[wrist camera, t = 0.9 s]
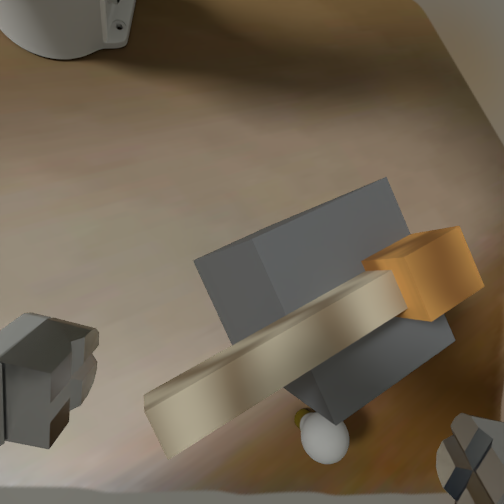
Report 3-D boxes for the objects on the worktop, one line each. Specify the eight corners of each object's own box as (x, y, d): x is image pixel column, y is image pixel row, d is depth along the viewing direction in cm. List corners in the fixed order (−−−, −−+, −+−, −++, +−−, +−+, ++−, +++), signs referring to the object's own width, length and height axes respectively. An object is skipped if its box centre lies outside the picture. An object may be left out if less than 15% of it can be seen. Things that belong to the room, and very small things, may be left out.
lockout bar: (170, 449, 21) (178, 491, 17) (137, 382, 21) (137, 408, 16) (432, 285, 28) (484, 286, 24) (410, 234, 27) (459, 225, 23)
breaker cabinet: (235, 352, 49) (335, 425, 24) (193, 260, 48) (251, 239, 23) (309, 310, 53) (460, 337, 28) (271, 225, 52) (392, 174, 27)
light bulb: (311, 388, 52) (350, 412, 42) (323, 426, 52) (365, 458, 43) (276, 406, 50) (308, 435, 41) (288, 445, 50) (324, 483, 41)
